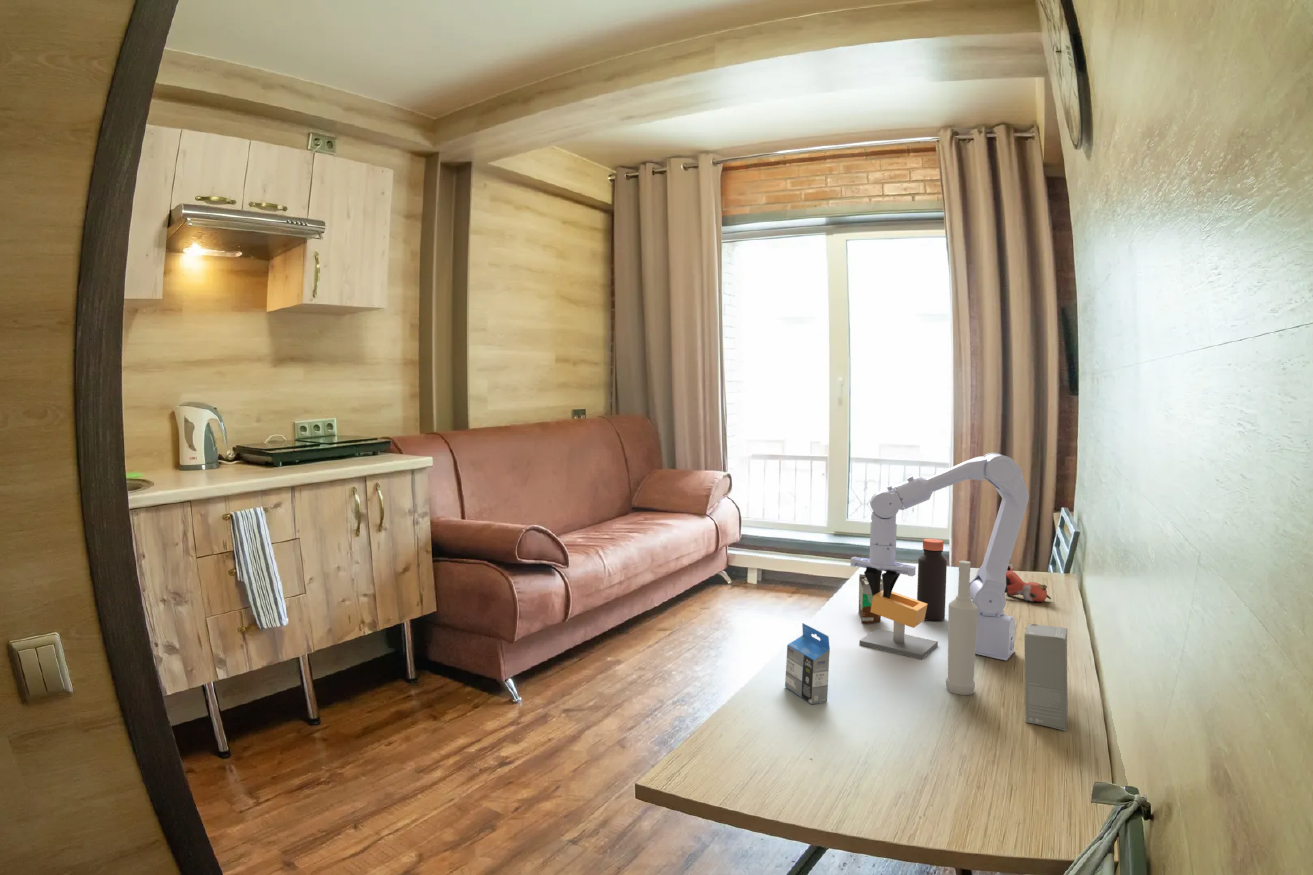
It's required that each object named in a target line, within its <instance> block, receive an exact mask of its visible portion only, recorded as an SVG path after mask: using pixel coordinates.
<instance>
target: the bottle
mask: <svg viewBox="0 0 1313 875" xmlns="http://www.w3.org/2000/svg"><path fill="white" fill-rule="evenodd" d="M971 565H972V564H971V561H968V560H959V561H958V585H957V586H958V587H957V588H958V589H957V594H956V595H955V598H954V599H953V600H951V601H950V602H949V603H948V619H947V620H948V627H947V628H948V629H947V631H948V632H947V634H948V635H947V676H946V678H945V686H946V689H947V691H949V692H951V693H953V694H957V695H959V696H962V695H963V696H970V695H973V694H974V692H975V688H976V683H975V681H974V677H975V660H976V654H975V648H976V632H977V615H978V607H977V606H976V605H975V604H974V603H973V602H972V599H971V597H969V586H970V582H971V581H970V580H971Z"/></svg>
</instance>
